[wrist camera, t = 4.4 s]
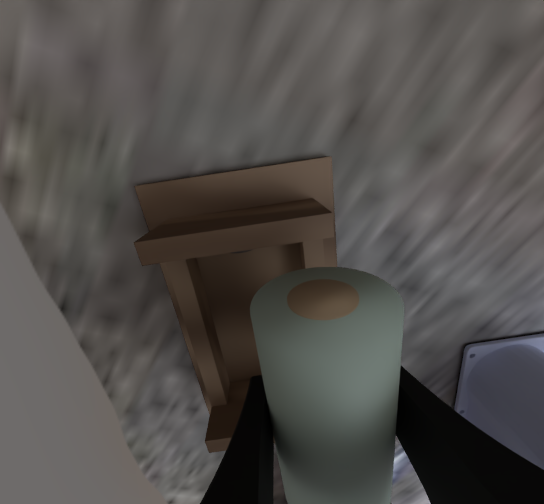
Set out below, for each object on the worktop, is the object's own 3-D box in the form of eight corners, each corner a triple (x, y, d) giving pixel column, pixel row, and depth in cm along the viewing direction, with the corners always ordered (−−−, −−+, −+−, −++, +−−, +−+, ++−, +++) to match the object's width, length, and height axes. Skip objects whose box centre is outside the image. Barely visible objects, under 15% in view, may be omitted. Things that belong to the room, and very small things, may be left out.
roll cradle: (340, 386, 23) (363, 451, 18) (211, 405, 23) (198, 475, 18) (327, 156, 16) (359, 156, 11) (141, 184, 16) (86, 197, 11)
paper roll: (365, 419, 15) (414, 543, 10) (279, 430, 15) (288, 559, 10) (366, 258, 11) (445, 334, 6) (252, 273, 11) (245, 361, 6)
